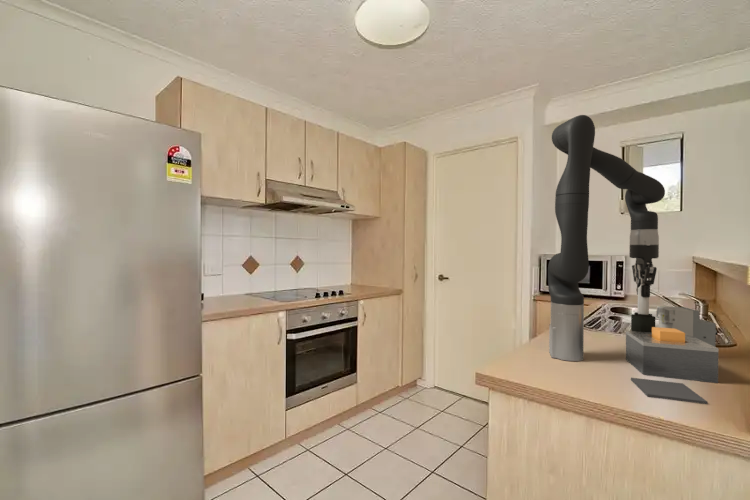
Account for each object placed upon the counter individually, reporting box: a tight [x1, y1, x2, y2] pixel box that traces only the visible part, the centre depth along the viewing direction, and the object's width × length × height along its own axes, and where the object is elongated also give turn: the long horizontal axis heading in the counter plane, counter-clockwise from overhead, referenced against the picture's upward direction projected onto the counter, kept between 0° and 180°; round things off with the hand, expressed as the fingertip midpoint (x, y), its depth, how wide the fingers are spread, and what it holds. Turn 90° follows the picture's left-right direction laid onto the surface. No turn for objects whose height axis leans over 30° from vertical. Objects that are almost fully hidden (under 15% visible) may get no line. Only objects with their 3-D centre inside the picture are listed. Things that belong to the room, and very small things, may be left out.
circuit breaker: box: [655, 305, 718, 347], centre depth 113 cm, size 8×14×15 cm, turn 78°
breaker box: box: [625, 330, 719, 384], centre depth 98 cm, size 16×14×9 cm
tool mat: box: [630, 377, 708, 405], centre depth 83 cm, size 11×11×1 cm
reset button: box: [652, 326, 685, 343], centre depth 98 cm, size 6×6×7 cm
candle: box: [630, 285, 656, 333], centre depth 112 cm, size 5×5×25 cm
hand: (643, 296), depth 112 cm, fingers closed on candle, 3 cm apart
